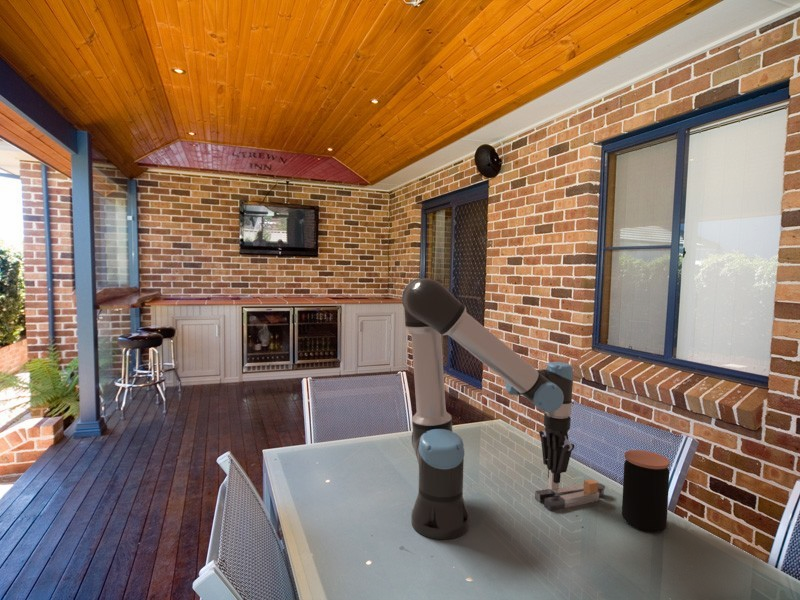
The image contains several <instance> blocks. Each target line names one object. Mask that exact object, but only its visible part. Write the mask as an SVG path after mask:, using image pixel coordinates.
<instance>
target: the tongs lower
mask: <svg viewBox="0 0 800 600" xmlns="http://www.w3.org/2000/svg"><path fill="white" fill-rule="evenodd" d="M605 489H606V486H605V485H604V484H602V483H599V482H598V493H593V494H588V493H587V492H585V491H581V492H576V493H571V494H566V495H561V496H554V497H549V498H545V503H543V504H544V506H543V507H544V508H545V509H547V510H548V511H549V512H553V511H557V510H563V509H566V508H571V507H576V506H581V505H587V504H589V503H590V502H591V503H594V501H595V502H599V500H600V499H599V497H602V498H604V497H603V496H605V495H604V494H605Z"/></svg>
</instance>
